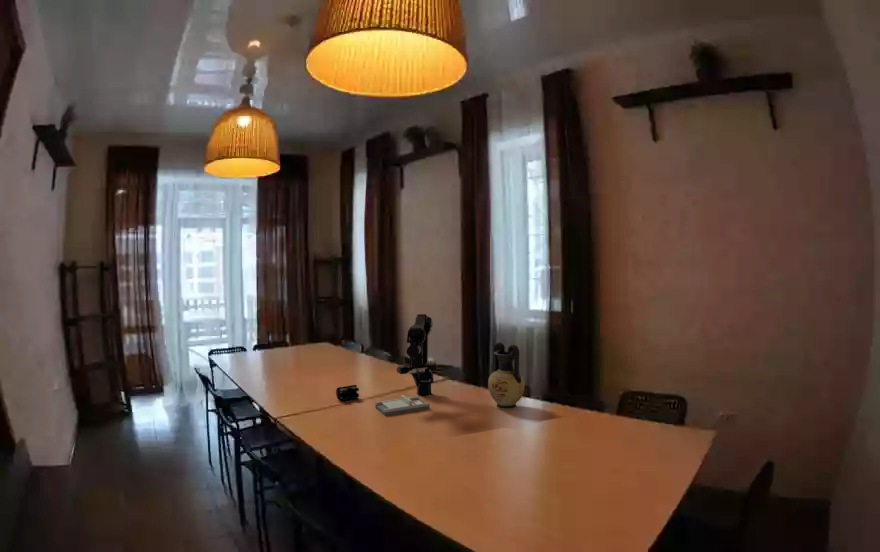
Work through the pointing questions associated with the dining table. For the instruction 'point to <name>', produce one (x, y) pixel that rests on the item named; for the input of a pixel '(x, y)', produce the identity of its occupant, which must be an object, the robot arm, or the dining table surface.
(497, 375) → the amphora
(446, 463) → the dining table surface
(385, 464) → the dining table surface
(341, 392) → the end cap
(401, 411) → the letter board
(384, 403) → the sage shutter
